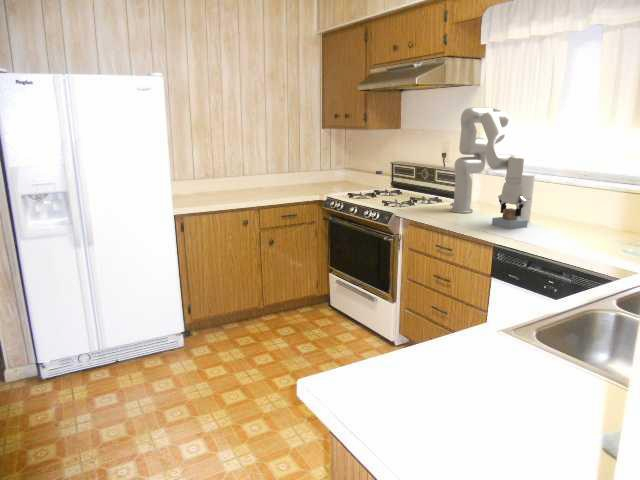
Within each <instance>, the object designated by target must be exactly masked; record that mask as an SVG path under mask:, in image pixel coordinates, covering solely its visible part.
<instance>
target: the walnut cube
mask: <svg viewBox="0 0 640 480" xmlns="http://www.w3.org/2000/svg"><path fill="white" fill-rule="evenodd" d="M515 213H516V208H506V209H503V213H502V217H503V218H502V219H506V220H517V216H515Z"/></svg>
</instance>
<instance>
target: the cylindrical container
mask: <svg viewBox="0 0 640 480" xmlns="http://www.w3.org/2000/svg"><path fill="white" fill-rule="evenodd" d="M535 177H536V176H535V174H533V173H523V174H522V183H521V184H522V188H523V196H522V197H523V198H524V199H525V200H526V203H525V206H524V207H523V208H521V216H517V218H520V219H525V220H528V223H530V222H531V215H532V214H531V212H532V203H533V193H534V184H535ZM521 204H522V203H521ZM518 205H519V204H518Z"/></svg>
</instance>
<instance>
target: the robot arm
mask: <svg viewBox="0 0 640 480" xmlns="http://www.w3.org/2000/svg"><path fill="white" fill-rule="evenodd" d="M508 123H509V116H508V114H507V113H506V112H505V111H504V110H501V109H497V108H494V107H489V106H488V107H486V106H485V107H484V106H482V107H480V106H479V107H478V106H477V107H476V106H473V107H467V108H465V109H464V110H463V111H462V113H461V116H460V128H461V129H460V136H459V137H460V138H459V148H458V149H459V153H460V154H462V155H465V156H462V157H458V158H457V159H456V160H455V162H454V173H455V175H454V176H455V177H454V181H455V182H454V194H453V202H452V203H450V204H449V205H450V206H452V207H451V208H450V212H453V213H459V214H470V213H473V212H474V209H472V208H471V204H472V203H471V202H472V190H473V189H472V188H473V180H472V177H471V174H480V173H482V172H483V171H484V170H485V167H486V162H487V164H488V166H489V168H490V169H492V170H499V171H500V170H506V176H505V178H504V180H505V182H504V183H503V186H502V190H501V194H499V195H498V196H497V198H498V202H499V205H500V213H501V214H503V209H507V204H509V205H514V206H515V207H516V208H515V209H516V213H515V216H521V208H523V207H524V206H525V203H526V200H525V199H524V198H523V197H522V196H523V188H522V184H521V183H522V174H524V173H523V172H524V162H525V159H524V157H523V156H521V155H514V154H497V152H496V148H495V145H497V144H499V143H500V142H502V141H503V140H504V138H505V136H506V135H505V132H504V130H503V128H505V127H506V126H508ZM475 124H481V125H482V128H483V131H484V133H485V135H486V139H487V141H486V139H485V138H483V137H477V134H478V133H477V132H478V130H477V126H476V125H475ZM466 155H468V156H466ZM469 155H470V156H469ZM471 155H473V156H471ZM521 203H522V204H521ZM518 204H519V205H518Z"/></svg>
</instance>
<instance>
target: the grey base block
mask: <svg viewBox="0 0 640 480" xmlns="http://www.w3.org/2000/svg"><path fill="white" fill-rule="evenodd" d="M502 218H503V216H498V217H497V216H495V217H492V218H491V219H492V220H491V226H496V227H499V228H504V229H507V230H516V229H522V228H524V229H525V228H528V223H529V222H528V220H525V219H520V218H517V220H506V219H502Z"/></svg>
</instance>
